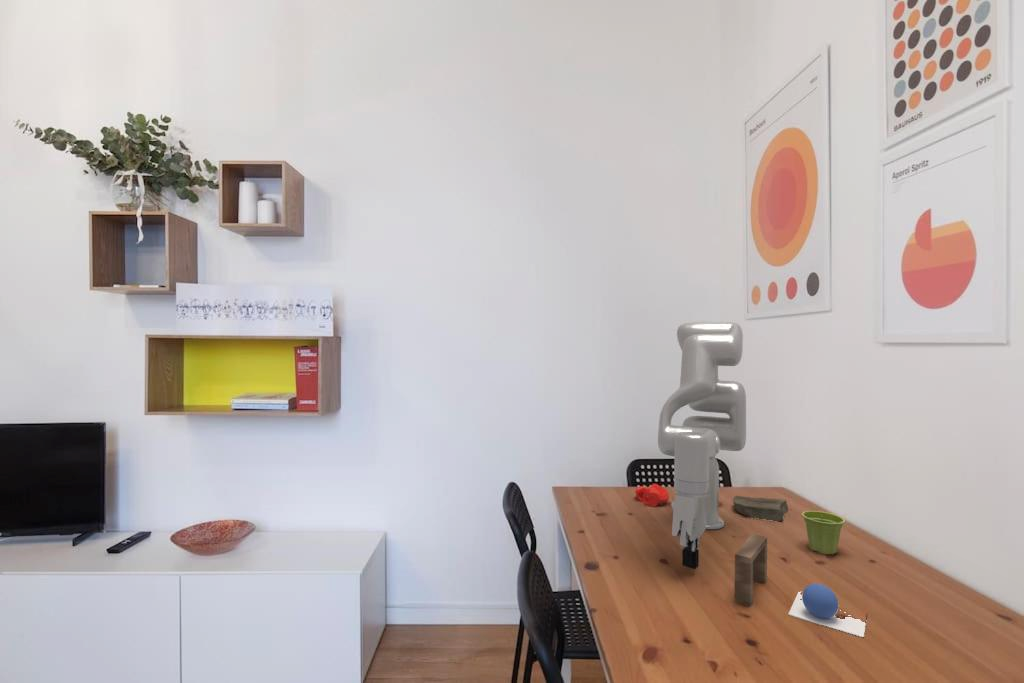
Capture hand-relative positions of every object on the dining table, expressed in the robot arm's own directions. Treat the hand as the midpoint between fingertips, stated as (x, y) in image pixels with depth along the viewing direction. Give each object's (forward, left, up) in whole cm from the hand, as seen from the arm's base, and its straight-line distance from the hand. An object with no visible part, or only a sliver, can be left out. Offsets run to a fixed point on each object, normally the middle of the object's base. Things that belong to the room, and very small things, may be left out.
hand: (690, 566), depth 115 cm
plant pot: (+22, +36, -2) cm, 42 cm away
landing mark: (+27, 0, -2) cm, 27 cm away
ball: (+26, -2, +2) cm, 26 cm away
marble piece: (+3, +58, -2) cm, 58 cm away
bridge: (+13, 0, -2) cm, 13 cm away
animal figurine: (-29, +48, -2) cm, 56 cm away
